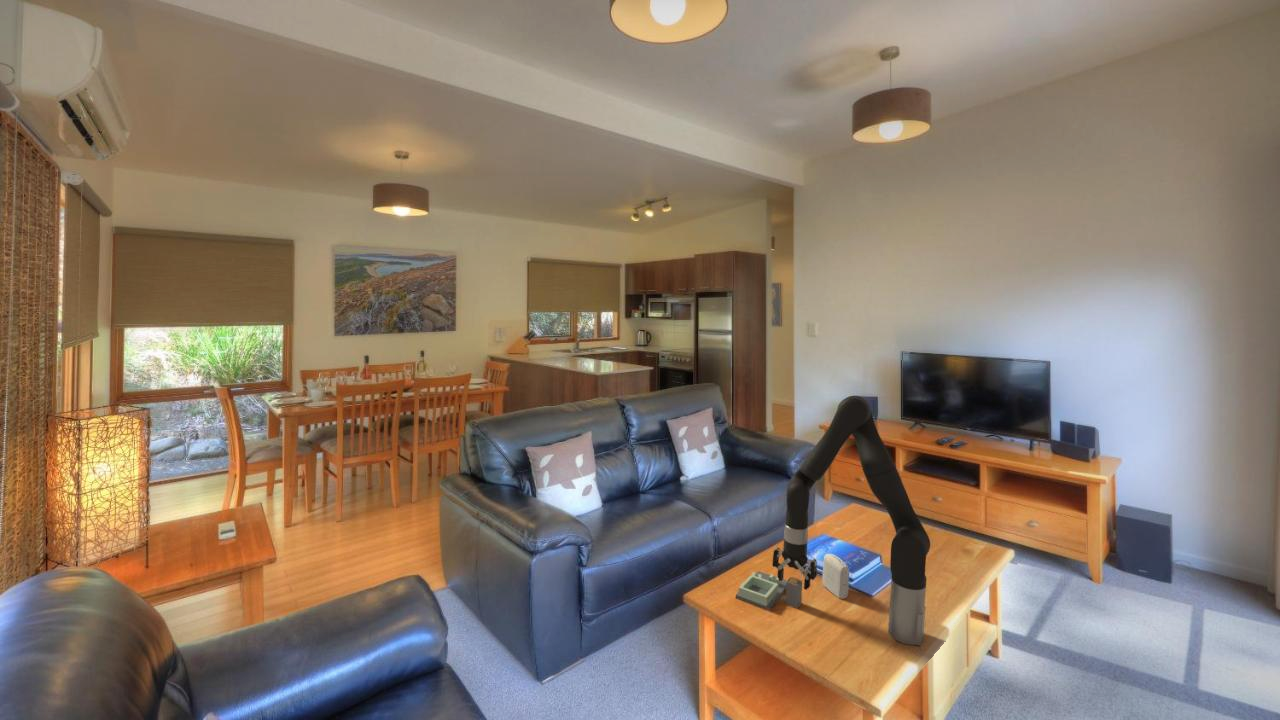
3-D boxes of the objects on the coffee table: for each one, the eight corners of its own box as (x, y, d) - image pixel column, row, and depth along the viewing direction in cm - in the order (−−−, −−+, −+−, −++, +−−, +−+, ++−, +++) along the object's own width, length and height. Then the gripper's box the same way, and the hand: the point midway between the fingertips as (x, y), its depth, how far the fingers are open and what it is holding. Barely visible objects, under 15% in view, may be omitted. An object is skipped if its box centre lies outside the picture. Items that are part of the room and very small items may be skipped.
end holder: (777, 592, 176) (778, 584, 176) (766, 606, 168) (766, 597, 168) (750, 582, 182) (751, 574, 181) (738, 595, 174) (738, 587, 173)
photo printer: (850, 598, 175) (851, 563, 173) (839, 600, 173) (841, 565, 172) (830, 582, 184) (832, 549, 183) (820, 584, 183) (821, 551, 182)
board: (790, 584, 183) (790, 575, 182) (769, 610, 167) (769, 600, 167) (758, 574, 190) (758, 564, 189) (735, 598, 175) (735, 587, 174)
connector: (801, 603, 172) (802, 578, 171) (797, 608, 169) (798, 584, 168) (789, 598, 174) (790, 575, 173) (785, 604, 171) (786, 580, 170)
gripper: (821, 540, 168) (818, 586, 170) (779, 528, 176) (777, 572, 178) (813, 549, 162) (810, 597, 164) (770, 536, 170) (768, 581, 172)
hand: (793, 584), depth 171 cm, fingers open, 8 cm apart
